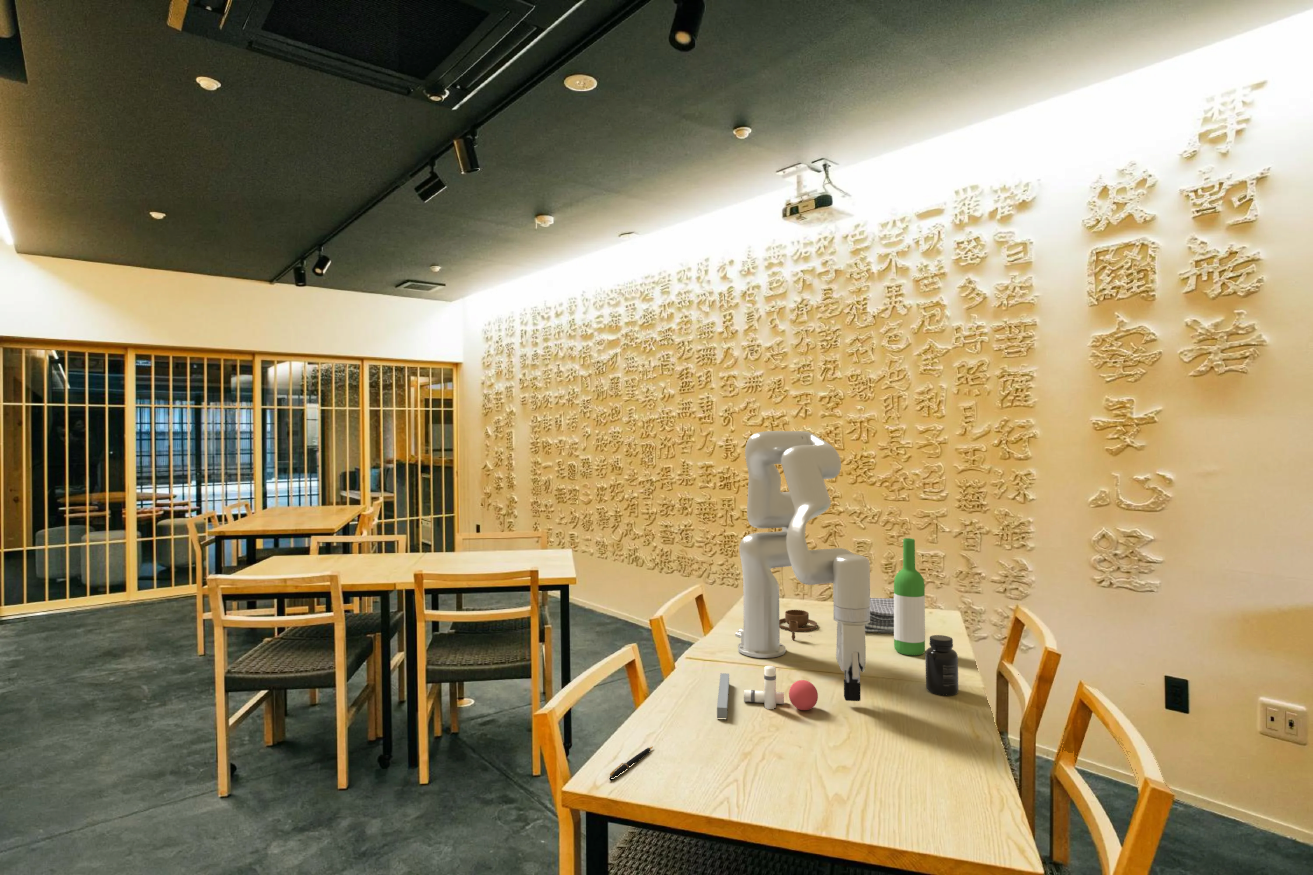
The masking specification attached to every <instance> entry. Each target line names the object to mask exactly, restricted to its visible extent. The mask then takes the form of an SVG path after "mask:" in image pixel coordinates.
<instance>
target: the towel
mask: <svg viewBox="0 0 1313 875" xmlns="http://www.w3.org/2000/svg"><path fill="white" fill-rule="evenodd" d="M871 632H878V633H877V634H894V597H891V598H890V597H889V598H885V597H884V598H881V597H880V598H879V597H877V598H876V597H870V623H868V624H865V633H871Z"/></svg>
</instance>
